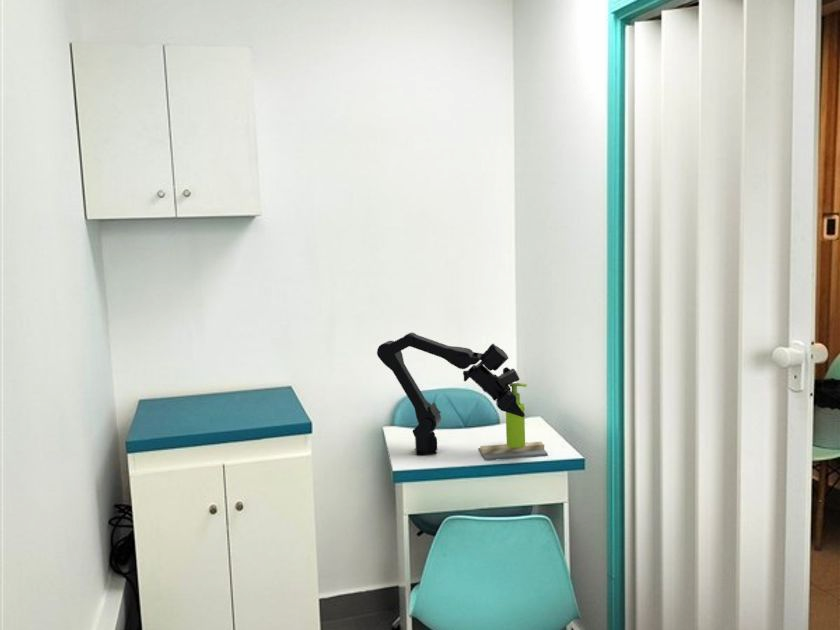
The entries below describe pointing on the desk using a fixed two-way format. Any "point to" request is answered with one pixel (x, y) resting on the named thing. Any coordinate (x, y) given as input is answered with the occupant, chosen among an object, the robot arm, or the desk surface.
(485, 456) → the base board
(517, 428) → the soap dispenser
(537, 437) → the desk surface
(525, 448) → the ridge
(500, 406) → the robot arm
